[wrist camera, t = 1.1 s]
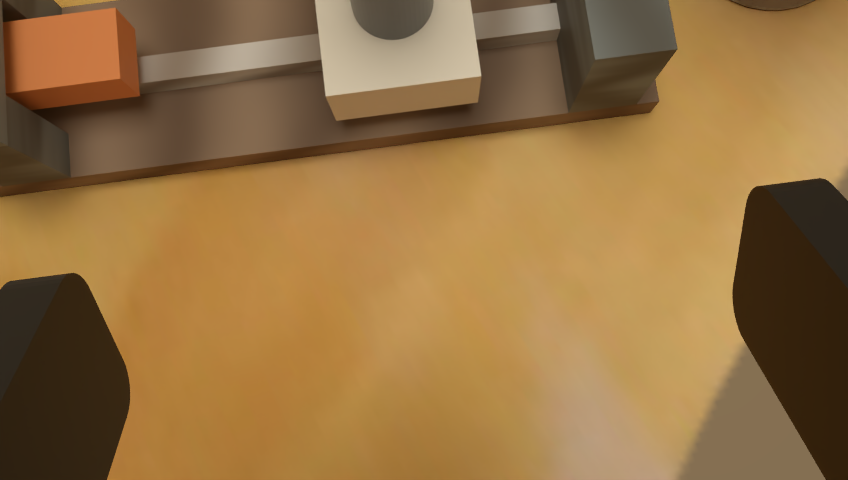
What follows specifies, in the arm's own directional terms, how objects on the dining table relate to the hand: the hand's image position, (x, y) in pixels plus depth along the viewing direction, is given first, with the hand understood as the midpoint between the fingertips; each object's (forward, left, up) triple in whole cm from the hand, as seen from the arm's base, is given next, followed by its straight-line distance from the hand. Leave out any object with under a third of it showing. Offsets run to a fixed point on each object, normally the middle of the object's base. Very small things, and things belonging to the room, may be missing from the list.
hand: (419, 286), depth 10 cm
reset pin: (-13, +13, -21) cm, 28 cm away
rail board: (-4, +13, -25) cm, 28 cm away
